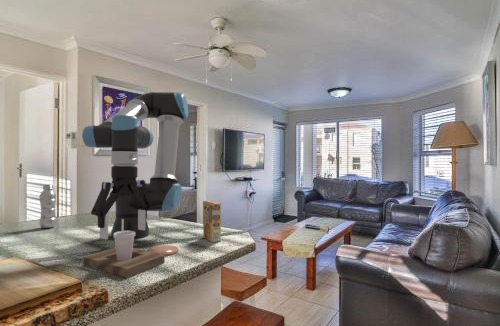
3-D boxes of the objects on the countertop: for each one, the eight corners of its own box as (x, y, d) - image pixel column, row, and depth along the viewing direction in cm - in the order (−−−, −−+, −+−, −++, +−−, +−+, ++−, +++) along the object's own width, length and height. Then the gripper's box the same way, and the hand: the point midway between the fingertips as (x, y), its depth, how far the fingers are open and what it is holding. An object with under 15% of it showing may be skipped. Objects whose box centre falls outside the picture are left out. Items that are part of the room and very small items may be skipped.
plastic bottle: (59, 227, 141) (59, 184, 141) (43, 230, 135) (43, 185, 135) (52, 225, 145) (52, 184, 144) (36, 228, 139) (36, 185, 138)
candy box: (221, 241, 121) (221, 203, 121) (211, 242, 118) (212, 203, 118) (211, 236, 128) (211, 200, 128) (202, 237, 126) (202, 200, 126)
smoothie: (117, 260, 97) (117, 217, 97) (137, 260, 98) (138, 217, 97) (109, 267, 91) (109, 221, 90) (131, 267, 91) (131, 221, 91)
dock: (83, 264, 93) (83, 256, 93) (122, 252, 105) (122, 245, 105) (126, 278, 83) (126, 268, 83) (164, 262, 95) (164, 255, 95)
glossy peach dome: (139, 253, 105) (139, 251, 105) (162, 245, 114) (162, 243, 114) (162, 258, 99) (162, 256, 99) (185, 250, 109) (185, 248, 109)
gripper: (94, 165, 81) (93, 244, 81) (163, 165, 103) (162, 227, 103) (77, 165, 85) (77, 241, 85) (147, 165, 106) (147, 225, 106)
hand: (123, 234), depth 94 cm, fingers open, 13 cm apart
